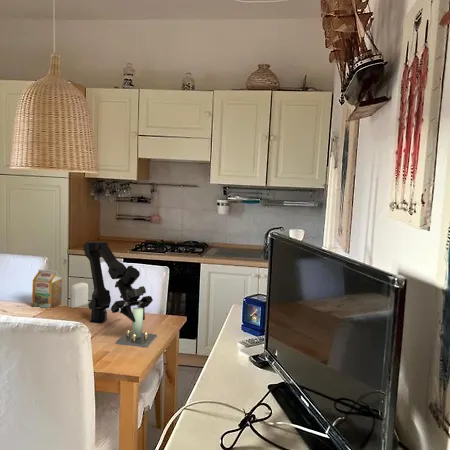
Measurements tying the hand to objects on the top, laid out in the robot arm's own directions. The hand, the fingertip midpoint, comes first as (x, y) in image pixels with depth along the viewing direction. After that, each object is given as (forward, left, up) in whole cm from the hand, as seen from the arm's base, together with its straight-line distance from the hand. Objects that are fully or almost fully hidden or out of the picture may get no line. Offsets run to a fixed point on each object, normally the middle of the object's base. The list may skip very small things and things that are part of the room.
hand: (139, 320), depth 206 cm
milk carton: (-62, +35, -9) cm, 72 cm away
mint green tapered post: (-1, +1, -7) cm, 7 cm away
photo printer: (-47, +41, -9) cm, 63 cm away
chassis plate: (-1, +1, -9) cm, 9 cm away
